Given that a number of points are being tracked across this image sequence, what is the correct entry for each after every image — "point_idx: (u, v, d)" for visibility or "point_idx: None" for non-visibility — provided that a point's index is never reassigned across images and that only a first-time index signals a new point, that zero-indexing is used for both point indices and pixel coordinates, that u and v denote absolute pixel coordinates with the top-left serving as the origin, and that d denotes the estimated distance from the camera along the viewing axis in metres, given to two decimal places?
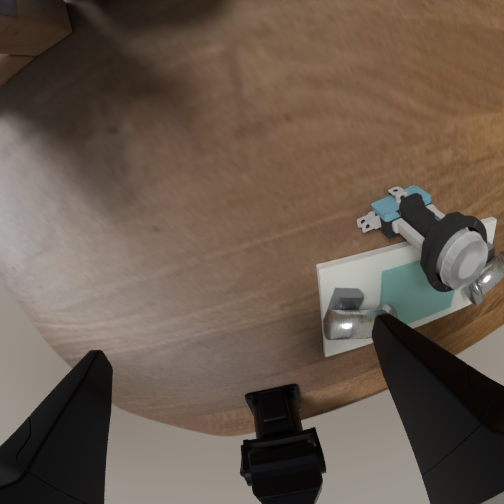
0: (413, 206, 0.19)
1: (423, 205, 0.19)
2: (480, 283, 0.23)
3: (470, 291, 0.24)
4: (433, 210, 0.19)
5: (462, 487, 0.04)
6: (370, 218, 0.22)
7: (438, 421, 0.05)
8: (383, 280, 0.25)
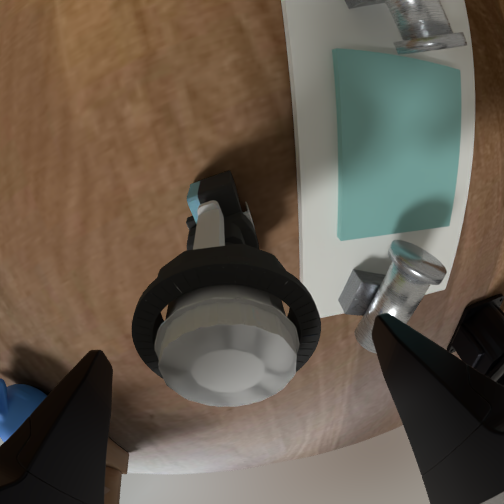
0: None
1: (193, 244, 0.12)
2: (419, 28, 0.08)
3: None
4: None
5: (462, 487, 0.04)
6: None
7: (438, 421, 0.05)
8: None
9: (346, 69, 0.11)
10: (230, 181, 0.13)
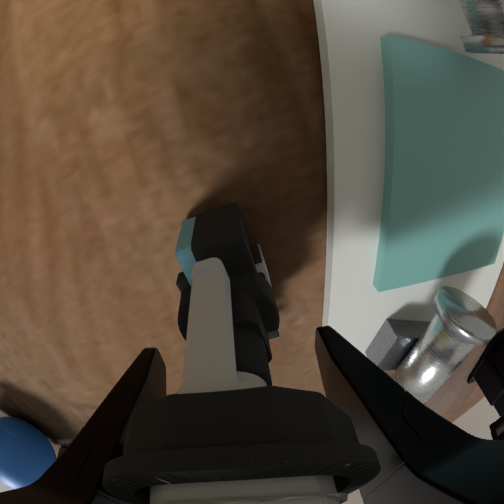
0: None
1: (187, 318, 0.08)
2: (501, 22, 0.04)
3: None
4: None
5: None
6: None
7: None
8: None
9: (401, 65, 0.07)
10: (239, 226, 0.09)
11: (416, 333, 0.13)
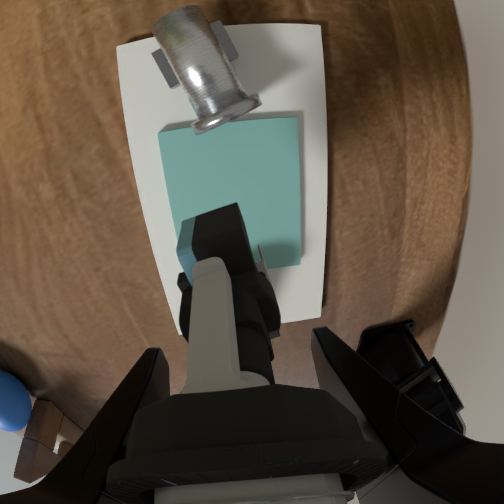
0: None
1: (188, 318, 0.08)
2: (199, 110, 0.12)
3: None
4: None
5: None
6: None
7: None
8: None
9: (166, 149, 0.16)
10: (239, 225, 0.09)
11: None
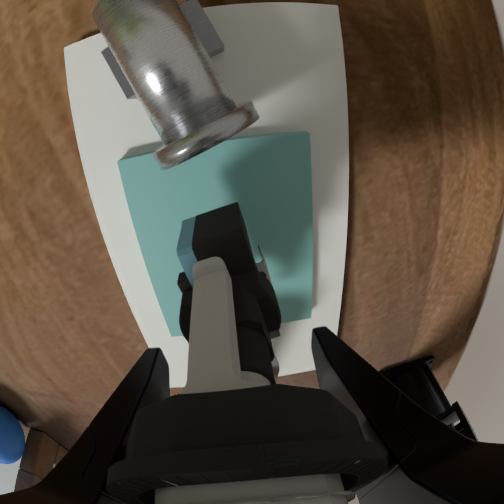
0: None
1: (188, 318, 0.08)
2: (162, 133, 0.08)
3: None
4: None
5: None
6: None
7: None
8: None
9: (131, 182, 0.11)
10: (240, 224, 0.09)
11: None
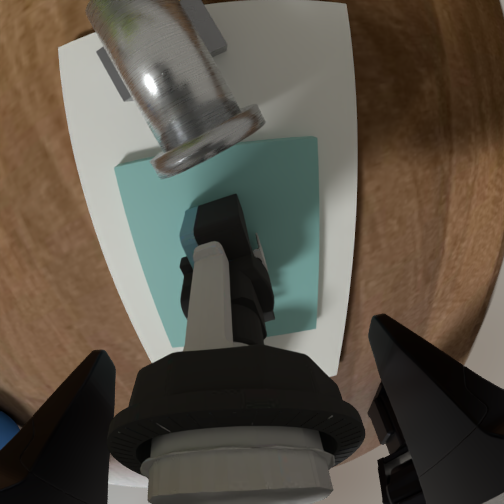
0: None
1: (188, 298, 0.09)
2: (160, 139, 0.07)
3: None
4: None
5: (458, 489, 0.04)
6: None
7: (434, 423, 0.05)
8: None
9: (128, 190, 0.11)
10: (237, 213, 0.09)
11: None
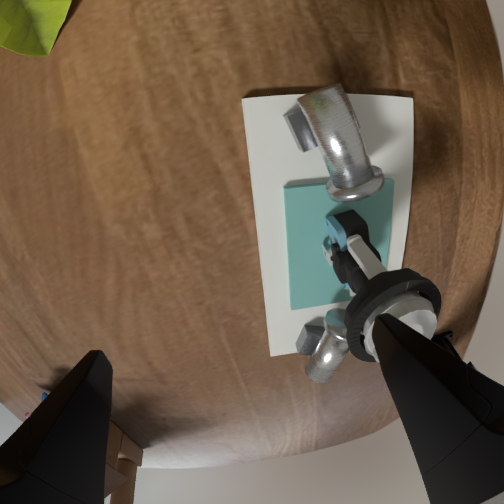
0: (340, 278, 0.18)
1: (343, 264, 0.17)
2: (341, 182, 0.16)
3: None
4: (352, 253, 0.17)
5: (462, 487, 0.04)
6: None
7: (437, 421, 0.05)
8: None
9: (291, 203, 0.19)
10: (364, 220, 0.17)
11: (323, 334, 0.24)
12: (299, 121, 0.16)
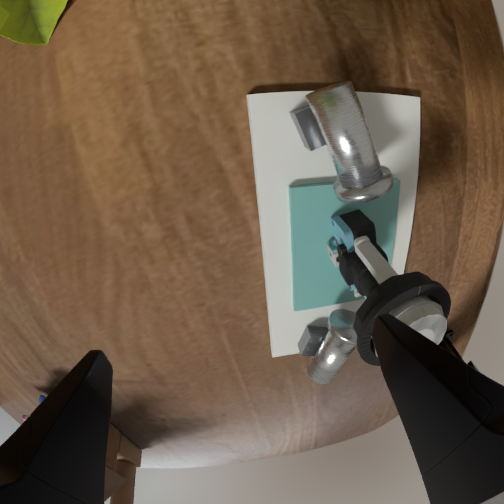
0: (347, 280, 0.17)
1: (350, 266, 0.17)
2: (349, 183, 0.15)
3: None
4: (360, 255, 0.16)
5: (462, 487, 0.04)
6: None
7: (438, 421, 0.05)
8: None
9: (297, 203, 0.18)
10: (371, 221, 0.17)
11: (326, 335, 0.24)
12: (307, 119, 0.15)
